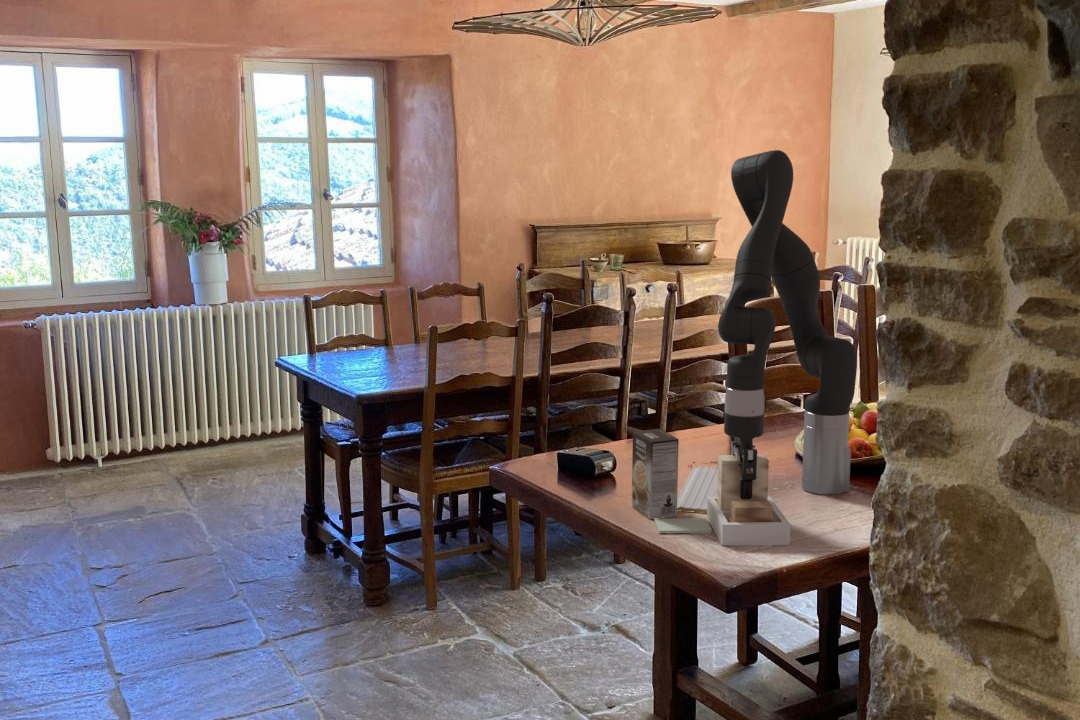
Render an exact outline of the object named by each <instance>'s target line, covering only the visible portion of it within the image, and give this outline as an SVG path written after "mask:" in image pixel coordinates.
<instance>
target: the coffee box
mask: <svg viewBox="0 0 1080 720" xmlns="http://www.w3.org/2000/svg"><path fill="white" fill-rule="evenodd" d="M631 460H632V465H631V466H632V472H631V473H632V474H631V479H632V480H631V481H632V482H631V483H632V484H631V507H632V508H634V509H635V510H637V511H638V512H639V513H640V512H641V513H640V514H642V515H643V514H644V515H643V516H645V517H646V516H647V517H648V518H647V517H646V518H647V519H649V520H651V519H652V520H655V519H654V518H659V519H663V518H662V517H666V518H671V517H670V516H674V517H677V516H678V511H677V498H678V483H679V482H678V479H679V438H677V437H675V436H673V435H672V434H670V433H668V432H666V431H665V430H663V429H661V428H654V429H646V430H637V431H636V430H635V431H633V432H632V459H631Z"/></svg>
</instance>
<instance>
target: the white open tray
mask: <svg viewBox="0 0 1080 720" xmlns="http://www.w3.org/2000/svg"><path fill="white" fill-rule="evenodd" d="M768 501H769V502H770V504H771V505H772V506H773V522H735V523H729V519H731V511H721V509H720V508H719V506H718V504H717V497H707V514H706V517H707V519H708V521H709V523H710V525H711V528H712V529H713V530H714V533H715V534H716V536H717V539H718V540H719V542H720V544H721V546H723V545H724V546H726V545H727V546H733V547H734V546H735V547H736V546H790V545H791V544H790V543H791V523H790V521H789V520H788V519H787V517H786V516H785V515H784V514H783V512H782V511H781V510H780V508H779V507H778V506H777V504H776V503H775V502H774V500H773V499H772V498H771V495H768Z"/></svg>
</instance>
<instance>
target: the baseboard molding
mask: <svg viewBox="0 0 1080 720" xmlns="http://www.w3.org/2000/svg"><path fill="white" fill-rule="evenodd" d="M692 463H693V464H695V461H693V462H692ZM716 463H717V461H710V462H709V463H708V462H707V463H704V462H703V464H707V465H709V464H716ZM689 467H690V468H692V467H693V466H692V464H690V465H689V464H688V465H687V469H688V468H689ZM690 468H689V469H690ZM717 490H718V466H717V467H716V466H715V467H711V466H704V465H703V466H702V465H700V466H698V467H693V468H692V469H691V470H690V473H689V475H688V477H687V479H686V480H685V483H684V485H683V487H682V489H681V490H680V492H679V495H677V510H681V511H680V512H682V511H694V512H703V513H702V514H706V513H707V497H717ZM694 512H693V513H694Z"/></svg>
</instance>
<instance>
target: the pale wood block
mask: <svg viewBox="0 0 1080 720" xmlns="http://www.w3.org/2000/svg"><path fill="white" fill-rule="evenodd" d="M717 456H718V457H717V468H718V490H717V504H718V506H719V508H720V509H721V511H731V501H768V496H769V495H768V494H769V491H768V490H769V470H770V469H769V468H770V467H769V464H770V460H769V459H768V458H767V456H766V455H765V454H757V468H756V480H754V481H753V484H752V498H751V499H741V498H740V470H739V469H737V465H736V455H730V454H727V455H726V454H720V455H719V454H718V455H717ZM740 463H741V462H740ZM742 464H743V463H742ZM746 474H750V470H749V469H746Z"/></svg>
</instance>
